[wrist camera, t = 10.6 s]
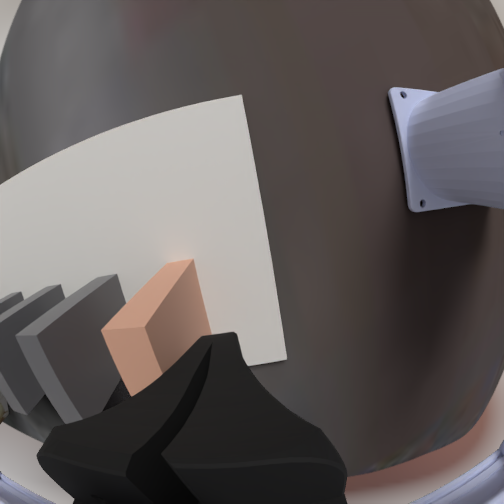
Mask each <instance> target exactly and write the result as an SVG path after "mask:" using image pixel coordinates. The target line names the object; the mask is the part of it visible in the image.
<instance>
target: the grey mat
mask: <svg viewBox="0 0 504 504" xmlns="http://www.w3.org/2000/svg"><path fill="white" fill-rule="evenodd" d="M193 258H194V263H195V267H196V272H197V276H198V280H199V285H200V289H201V293H202V297H203V301H204V305H205V309H206V313H207V317H208V321H209V325H210V329H211V332H212V335H213V334H220V333H227V332H235V333H237V336H238V340H239V344H240V348H241V352H242V356H243V358H244V360H245V362H246V364H247V366H251V365H258V364H264V363H270V362H276V361H282V360H287V356H286V349H285V342H284V336H283V329H282V323H281V316H280V310H279V303H278V297H277V291H276V285H275V278H274V272H273V266H272V260H271V254H270V248H269V242H268V236H267V231H266V225H265V219H264V213H263V207H262V202H261V196H260V191H259V185H258V179H257V174H256V168H255V163H254V158H253V152H252V147H251V141H250V136H249V131H248V126H247V120H246V115H245V110H244V105H243V100H242V95H238V96H232V97H227V98H222V99H217V100H212V101H207V102H202V103H198V104H194V105H190V106H185V107H181V108H178V109H174V110H170V111H167V112H163V113H160V114H156V115H153V116H150V117H146V118H143V119H140V120H137V121H134V122H131V123H128V124H125V125H122V126H120V127H117V128H114V129H112V130H109V131H106V132H104V133H101V134H99V135H96V136H94V137H91V138H89V139H87V140H84V141H82V142H80V143H77V144H75V145H73V146H71V147H69V148H66V149H64V150H62V151H60V152H58V153H56V154H54V155H52V156H50V157H48V158H46V159H44V160H42V161H40V162H39V163H37V164H35V165H33V166H31V167H29V168H28V169H26V170H24V171H22V172H21V173H19V174H17V175H16V176H14V177H12V178H11V179H9V180H7V181H6V182H4V183H3V184H1V185H0V299H2V298H4V297H5V296H7V295H9V294H11V293H15V292H20V291H21V292H22V295H23V298H24V300H25V299H26V298H28V297H30V296H31V295H33V294H35V293H36V292H38V291H40V290H42V289H43V288H45V287H47V286H52V285H58V284H61V287H62V290H63V293H64V296H65V299H66V298H67V297H68V296H70V295H71V294H73V293H74V292H76V291H77V290H79V289H80V288H82V287H83V286H85V285H86V284H88V283H89V282H91V281H92V280H94V279H95V278H97V277H101V276H107V275H112V274H117V275H118V278H119V282H120V285H121V288H122V292H123V295H124V298H125V301H126V303H127V302H128V301H129V300H130V299H131V298H132V297H133V296H134V295H135V294H136V293H137V292H138V291H139V290H140V289H141V288H142V287H143V286H144V285H145V284H146V283H147V282H148V281H149V280H150V279H151V278H152V277H153V276H154V275H155V274H156V273H157V272H158V271H159V270H160V269H161V268H162V267H163V266H164V265H165V264H166V263H170V262H176V261H182V260H188V259H193Z"/></svg>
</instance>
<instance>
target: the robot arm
mask: <svg viewBox="0 0 504 504" xmlns="http://www.w3.org/2000/svg"><path fill="white" fill-rule="evenodd" d="M400 93H402V94H403V96H404V98H402V97H401V95H400ZM388 96H389V100H390V104H391V108H392V112H393V116H394V120H395V125H396V129H397V134H398V139H399V144H400V150H401V156H402V162H403V168H404V175H405V183H406V191H407V200H408V207H409V209H410V210H411V211H412V212H423V211H429V210H436V209H442V208H449V207H455V206H462V205H468V204H476V205H482V206H488V207H494V208H500V209H504V68H503V69H500V70H497V71H494V72H491V73H488V74H485V75H482V76H480V77H477V78H474V79H471V80H469V81H466V82H464V83H461V84H458V85H456V86H453V87H451V88H448V89H446V90H443V91H441V92H433V91H425V90H417V89H407V88H396V87H395V88H392V89H390V90H389V92H388ZM421 200H422V202H423V204H422V206H420V201H421ZM37 459H38V461H39V464H40V465H41V467H42V468H43V470H44V471H45V472H46V473H47V474H48V475H49V476H50V477H51V478H52V479H53V480H54V481H55V482H56V483H57V484H58V485H59V486H60V487H61V488H63V489H64V490H65V491H66V492H67V493H68V494H70V495H71V496H72V497H73V498H74V502H73V504H347V501H346V498H345V494H344V492H345V486H346V480H347V470H346V467H345V465H344V462H343V460H342V459H341V457H340V455H339V453H338V452H337V450H336V449H335V447H334V446H333V445H332V443H331V442H330V440H329V439H328V438H327V437H326V435H325V434H324V433H323V432H322V430H321V429H320V428H318V427H316V426H314V425H312V424H311V423H309V422H307V421H305V420H304V419H302V418H300V417H299V416H297V415H296V414H294V413H293V412H292V411H290V410H289V409H287V408H286V407H285V406H284V405H282V404H281V403H280V402H279V401H278V400H277V399H275V398H274V397H273V396H272V395H271V394H270V393H269V392H268V391H267V390H266V389H265V388H264V387H263V386H262V385H261V383H260V382H259V381H258V380H257V379H256V377H255V376H254V375H253V373H252V372H251V370H250V369H249V367H248V366H247V364H246V362H245V360H244V358H243V356H242V352H241V348H240V344H239V340H238V336H237V333H235V332H227V333H220V334H213V335H205V336H201V337H200V338H199V339H198V340H197V341H196V342H195V343H194V344H193V345H192V346H191V347H190V348H189V349H188V350H187V351H186V352H185V353H184V354H183V355H182V356H181V357H180V358H179V359H178V360H177V361H176V362H175V363H174V364H173V365H172V366H171V367H170V368H169V369H168V370H167V371H165V372H164V373H163V374H162V375H161V376H160V377H159V378H157V379H156V380H155V381H154V382H152V383H151V384H150V385H148V386H147V387H146V388H144V389H143V390H141V391H140V392H138V393H137V394H135V395H134V396H132V397H130V398H128V399H127V400H125V401H123V402H121V403H119V404H118V405H116V406H114V407H112V408H110V409H108V410H105V411H103V412H101V413H98V414H96V415H93V416H91V417H88V418H85V419H82V420H79V421H75V422H72V423H68V424H64V425H61V426H56V427H54V428H53V429H52V431H51V433H50V434H49V436H48V437H47V439H46V441H45V442H44V444H43V446H42V447H41V449H40V450H39V452H38V453H37ZM0 504H55V503H53V502H51V501H49V500H47V499H45V498H43V497H41V496H39V495H37V494H35V493H33V492H31V491H30V490H28V489H26V488H24V487H23V486H21V485H19V484H18V483H16V482H14V481H13V480H11V479H9V478H8V477H6V476H5V475H3V474H2V473H1V471H0ZM409 504H504V440H503V442H502V444H501V445H500V448H499V449H498V450H497V451H495V452H494V453H493V454H491V455H490V456H489V457H487V458H486V459H485V460H483V461H482V462H480V463H479V464H478V465H476V466H475V467H473V468H472V469H470V470H469V471H467V472H466V473H464V474H463V475H461V476H459V477H458V478H456V479H455V480H453V481H451V482H450V483H448V484H446V485H444V486H443V487H441V488H439V489H437V490H435V491H434V492H432V493H430V494H428V495H426V496H424V497H422V498H419V499H417V500H415V501H413V502H411V503H409Z"/></svg>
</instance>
